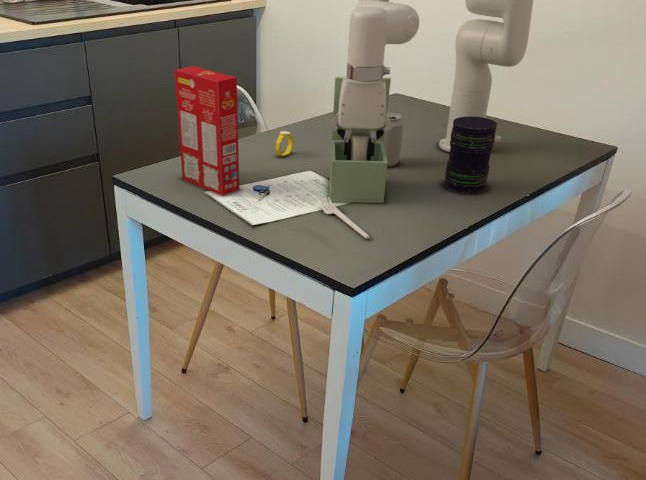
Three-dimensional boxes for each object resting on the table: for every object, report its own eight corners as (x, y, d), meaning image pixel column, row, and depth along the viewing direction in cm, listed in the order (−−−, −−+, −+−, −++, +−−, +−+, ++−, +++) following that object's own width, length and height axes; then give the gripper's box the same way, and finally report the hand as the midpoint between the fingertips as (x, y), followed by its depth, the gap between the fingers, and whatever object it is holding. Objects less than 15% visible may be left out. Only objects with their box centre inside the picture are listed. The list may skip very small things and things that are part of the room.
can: (398, 168, 176) (403, 120, 169) (368, 166, 177) (372, 118, 170) (400, 159, 182) (405, 112, 175) (371, 157, 183) (375, 110, 177)
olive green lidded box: (383, 203, 158) (387, 162, 152) (329, 201, 158) (331, 161, 153) (379, 180, 169) (383, 142, 164) (329, 179, 170) (331, 141, 164)
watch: (281, 159, 182) (282, 136, 178) (273, 157, 183) (273, 134, 179) (295, 153, 186) (295, 130, 182) (286, 151, 187) (287, 128, 183)
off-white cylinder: (366, 158, 160) (368, 132, 156) (367, 164, 156) (369, 137, 153) (349, 158, 160) (350, 131, 156) (349, 164, 157) (351, 137, 153)
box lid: (390, 79, 152) (389, 67, 156) (335, 78, 153) (335, 66, 157) (383, 141, 163) (382, 129, 167) (331, 140, 164) (331, 127, 168)
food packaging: (239, 189, 164) (236, 77, 150) (222, 195, 161) (217, 81, 146) (199, 173, 172) (193, 66, 158) (182, 179, 169) (174, 69, 155)
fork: (360, 241, 141) (361, 232, 140) (316, 206, 156) (316, 198, 155) (374, 238, 142) (375, 230, 141) (329, 203, 157) (329, 195, 156)
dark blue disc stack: (435, 182, 169) (444, 118, 160) (469, 176, 172) (479, 114, 163) (459, 196, 161) (470, 131, 153) (494, 190, 164) (506, 126, 156)
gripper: (403, 69, 150) (394, 154, 160) (325, 68, 151) (321, 152, 161) (406, 77, 144) (397, 165, 154) (324, 76, 145) (321, 163, 155)
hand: (358, 157), depth 158 cm, fingers closed on off-white cylinder, 4 cm apart
